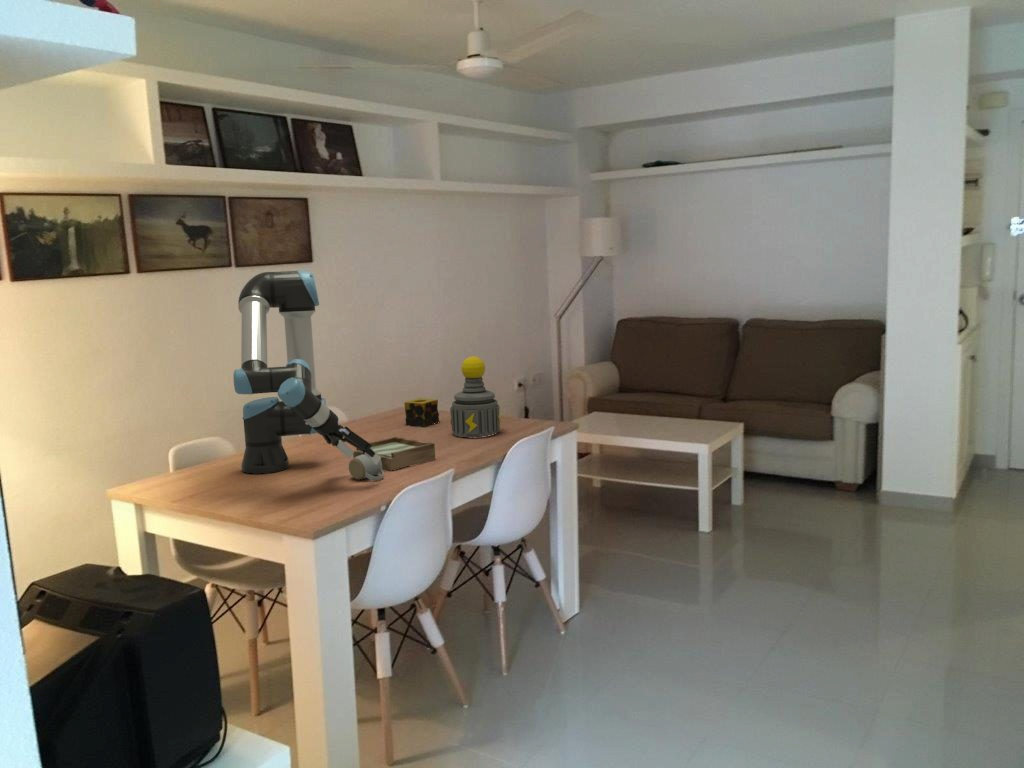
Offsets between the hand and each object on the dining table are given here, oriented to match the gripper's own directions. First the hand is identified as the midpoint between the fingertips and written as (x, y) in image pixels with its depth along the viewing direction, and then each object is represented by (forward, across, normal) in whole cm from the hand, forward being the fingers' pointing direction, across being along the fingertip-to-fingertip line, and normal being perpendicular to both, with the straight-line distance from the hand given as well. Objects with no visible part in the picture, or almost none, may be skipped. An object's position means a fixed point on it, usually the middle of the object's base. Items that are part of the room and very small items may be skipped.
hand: (364, 458), depth 263 cm
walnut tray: (+18, -10, +10) cm, 23 cm away
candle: (+52, -50, +43) cm, 84 cm away
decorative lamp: (+51, -18, +43) cm, 69 cm away
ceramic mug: (+5, +1, -4) cm, 7 cm away
